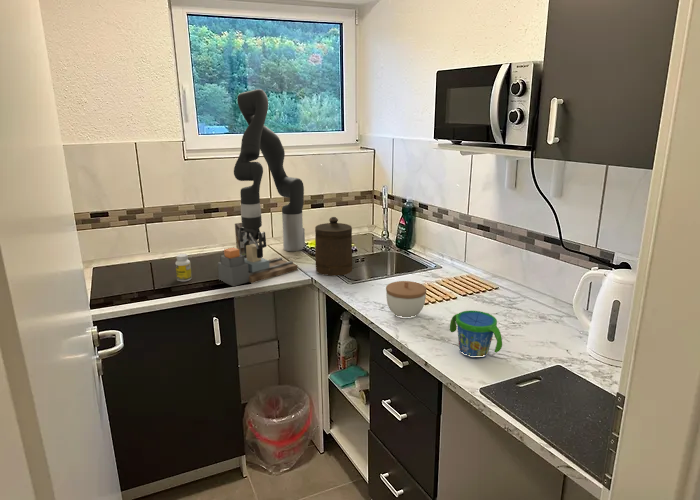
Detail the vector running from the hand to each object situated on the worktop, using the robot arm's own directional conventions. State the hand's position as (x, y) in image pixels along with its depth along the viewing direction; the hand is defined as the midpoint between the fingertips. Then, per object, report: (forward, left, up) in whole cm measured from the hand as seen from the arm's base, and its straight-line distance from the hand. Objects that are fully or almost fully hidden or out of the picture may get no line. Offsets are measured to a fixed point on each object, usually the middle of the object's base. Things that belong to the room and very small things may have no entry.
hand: (253, 255), depth 189 cm
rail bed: (-5, 0, -8) cm, 10 cm away
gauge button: (+10, 0, +1) cm, 10 cm away
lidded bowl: (-12, +66, -8) cm, 68 cm away
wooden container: (-26, +18, -8) cm, 33 cm away
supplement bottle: (+22, -15, -8) cm, 28 cm away
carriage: (0, 0, -5) cm, 5 cm away
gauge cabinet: (+9, 0, -8) cm, 12 cm away
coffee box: (-8, -18, -8) cm, 21 cm away
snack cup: (-5, +95, -8) cm, 95 cm away
